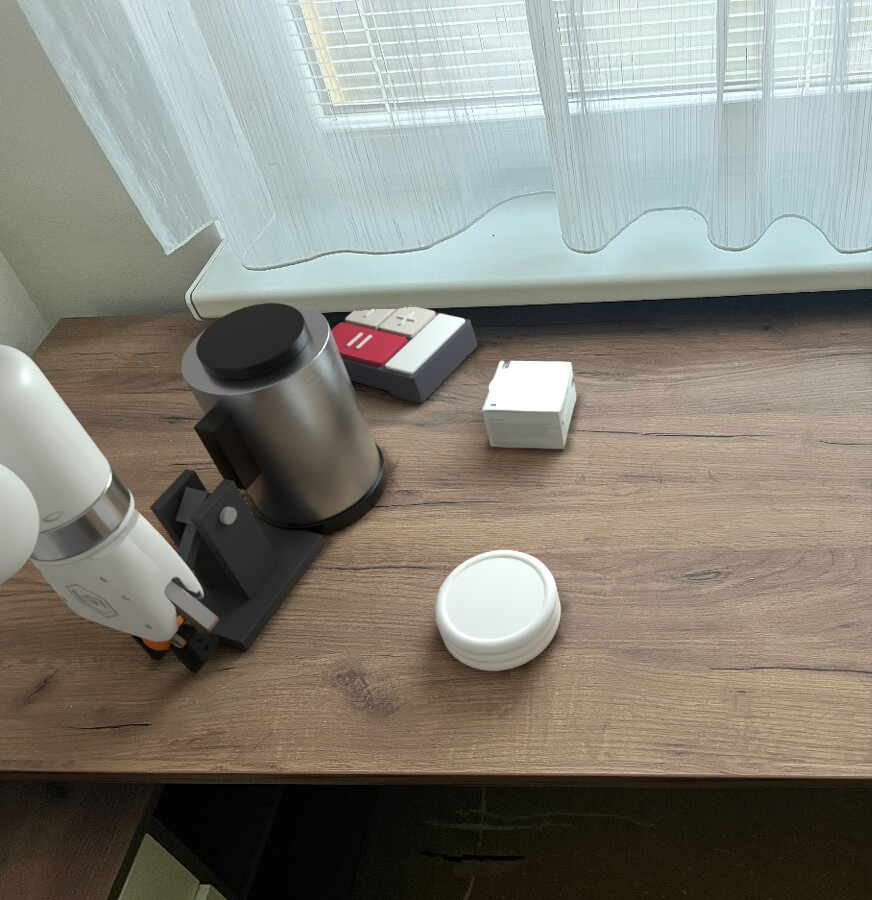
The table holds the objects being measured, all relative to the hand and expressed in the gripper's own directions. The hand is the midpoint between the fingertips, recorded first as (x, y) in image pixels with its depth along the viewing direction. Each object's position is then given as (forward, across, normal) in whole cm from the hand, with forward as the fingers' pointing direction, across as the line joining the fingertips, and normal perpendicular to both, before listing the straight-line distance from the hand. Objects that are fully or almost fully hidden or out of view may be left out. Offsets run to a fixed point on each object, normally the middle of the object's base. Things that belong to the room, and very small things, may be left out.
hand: (186, 650), depth 73 cm
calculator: (+2, -3, +40) cm, 40 cm away
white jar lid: (+1, +24, +11) cm, 26 cm away
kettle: (+1, 0, +20) cm, 20 cm away
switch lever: (-5, 0, +5) cm, 7 cm away
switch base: (+1, 0, +8) cm, 8 cm away
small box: (+2, +17, +34) cm, 38 cm away
